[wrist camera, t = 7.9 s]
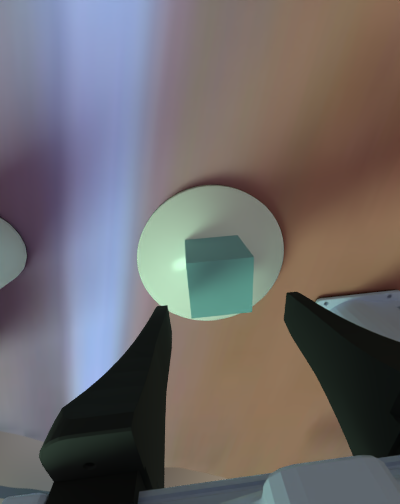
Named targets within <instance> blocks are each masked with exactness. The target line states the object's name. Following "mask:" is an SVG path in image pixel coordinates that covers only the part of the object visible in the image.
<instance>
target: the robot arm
mask: <svg viewBox="0 0 400 504" xmlns="http://www.w3.org/2000/svg"><path fill="white" fill-rule="evenodd" d="M325 302H326V303H325ZM284 321H285V323H286V326H287V328H288V330H289V332H290V334H291V336H292V338H293V339H294V341H295V343H296V344H297V346H298V347H299V349H300V351H301V352H302V354H303V355H304V357H305V358H306V360H307V362H308V363H309V365H310V366H311V368H312V369H313V371H314V373H315V375H316V376H317V378H318V380H319V382H320V384H321V386H322V388H323V390H324V392H325V394H326V396H327V398H328V400H329V402H330V404H331V406H332V409H333V411H334V413H335V415H336V417H337V419H338V422H339V424H340V426H341V428H342V431H343V433H344V435H345V437H346V440H347V442H348V444H349V447H350V449H351V452H352V454H353V456H351V457H343V458H336V459H329V460H322V461H315V462H307V463H300V464H293V465H290V466H286V467H283V468H280V469H278V470H276V471H275V472H273V473H268V474H261V475H254V476H247V477H240V478H233V479H226V480H219V481H211V482H205V483H198V484H190V485H183V486H176V487H169V488H164V455H165V412H166V391H167V382H168V374H169V366H170V358H171V349H172V330H171V324H170V318H169V311H168V305H165V306H157V307H156V308H155V310H154V312H153V314H152V316H151V317H150V319H149V321H148V322H147V324H146V325H145V327H144V328H143V330H142V331H141V333H140V334H139V336H138V337H137V338H136V340H135V341H134V342H133V344H132V345H131V346H130V348H129V349H128V350H127V351H126V352H125V354H124V355H123V356H122V357H121V358H120V359H119V360H118V361H117V362H116V363H115V364H114V365H113V366H112V367H111V368H110V369H109V370H108V371H107V372H106V373H105V374H104V375H103V376H102V377H101V378H100V379H99V380H98V381H96V382H95V383H94V384H93V385H92V386H91V387H89V388H88V389H87V390H86V391H84V392H83V393H82V394H81V395H79V396H78V397H77V398H75V399H74V400H73V401H71V402H70V403H69V404H67V405H66V406H64V407H63V408H62V409H61V411H60V413H59V414H58V416H57V418H56V419H55V421H54V423H53V425H52V427H51V429H50V431H49V433H48V435H47V437H46V440H45V442H44V444H43V446H42V448H41V450H40V454H39V458H40V461H41V463H42V465H43V466H44V468H45V470H46V471H47V472H48V474H49V475H50V477H51V478H52V479H53V481H54V483H53V486H52V488H51V491H50V493H49V496H48V495H47V494H44V493H33V494H26V495H19V496H12V497H7V498H6V499H4V500H3V502H2V504H400V291H399V290H392V291H382V292H373V293H364V294H355V295H346V296H337V297H328V298H320V299H318V300H317V301H316V302H314V301H312V300H310V299H309V298H307V297H305V296H304V295H302V294H300V293H298V292H290V293H287V295H286V304H285V314H284Z"/></svg>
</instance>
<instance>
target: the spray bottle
mask: <svg viewBox="0 0 400 504" xmlns="http://www.w3.org/2000/svg"><path fill="white" fill-rule="evenodd" d="M26 259H27V253H26V247H25V244H24V242H23V240H22V239H21V237H20V235H19V234H18V232H17V231H16V230H15V229H14V228H13V227H12V226H11V225H10V224H9V223H8V222H6V221H5V220H3V219H2V218H0V289H1V288H2V287H4V286H5V285H7V284H8V283H9V282H11V281H12V280H14V279H15V278H16V277H18V276H19V274H20V273H21V272H22V271H23V269H24V267H25V264H26Z"/></svg>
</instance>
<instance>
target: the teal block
mask: <svg viewBox="0 0 400 504" xmlns="http://www.w3.org/2000/svg"><path fill="white" fill-rule="evenodd" d="M185 257H186V270H187V280H188V289H189V299H190V308H191V318H201V317H211V316H220V315H229V314H238V313H247V312H252V300H253V273H254V256H253V255H252V254H251V252H250V251H249V250H248V248H247V247H246V246H245V244H244V243H243V242H242V240H241V239H240V238H239V236H238V235H233V236H222V237H211V238H200V239H189V240H185Z"/></svg>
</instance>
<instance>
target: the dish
mask: <svg viewBox="0 0 400 504" xmlns="http://www.w3.org/2000/svg"><path fill="white" fill-rule="evenodd" d="M233 235H238V236H239V238H240V239H241V240H242V242H243V243H244V244H245V246H246V247H247V248H248V250H249V251H250V252H251V254H252V255H253V256H254V273H253V300H252V306H253V305H255V304H256V303H257V302H258V301H260V300H261V299H262V298H263V297H264V296H265V295H266V294H267V292H268V291H269V290H270V289H271V287H272V286H273V284H274V283H275V281H276V279H277V277H278V275H279V272H280V269H281V266H282V262H283V256H284V244H283V237H282V233H281V230H280V227H279V225H278V223H277V221H276V219H275V218H274V216H273V214H272V213H271V212H270V211H269V210H268V208H267V207H266V206H265V205H264V204H262V203H261V202H260V201H259V200H257V199H256V198H254V197H253V196H251V195H249V194H247V193H245V192H243V191H241V190H238V189H236V188H232V187H229V186H223V185H202V186H196V187H193V188H189V189H186V190H184V191H181V192H179V193H177V194H175V195H174V196H172V197H170V198H169V199H167V200H166V201H165V202H164V203H163V204H161V205H160V206H159V207H158V208H157V210H156V211H155V212H154V213H153V214H152V216H151V217H150V219H149V220H148V222H147V224H146V226H145V228H144V230H143V232H142V234H141V237H140V240H139V244H138V251H137V264H138V270H139V274H140V277H141V280H142V282H143V284H144V286H145V288H146V289H147V291H148V293H149V294H150V295H151V296H152V297H153V299H154V300H155V301H156V302H158V303H159V304H160V305H161V306H165V305H168V311H170V312H172V313H174V314H176V315H179V316H181V317H185V318H189V319H194V320H206V321H207V320H218V319H224V318H228V317H231V316H234V315H237V314H229V315H220V316H211V317H201V318H191V308H190V299H189V289H188V280H187V270H186V257H185V240H189V239H200V238H211V237H222V236H233ZM238 314H239V313H238Z"/></svg>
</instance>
